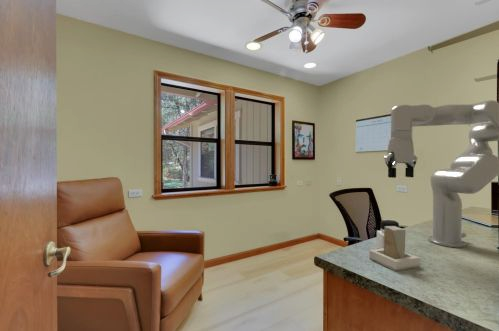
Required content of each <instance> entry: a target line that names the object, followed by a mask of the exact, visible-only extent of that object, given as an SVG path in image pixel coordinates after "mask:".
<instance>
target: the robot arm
mask: <svg viewBox="0 0 499 331" xmlns="http://www.w3.org/2000/svg"><path fill="white" fill-rule="evenodd" d="M474 124H475V125H474ZM449 125H450V126H453V125H456V126H458V125H473V126H472V127H471V128H470V129H469V130H468V131H469V132H468V140H469V147H467V148H466V149H465V150H464V151H463V152H462V153H461V154H459V156H457V157H455V159H454V160H453V161H452V162H451V163H450V168H443V169H438V170H437V169H436V170H435V171H434V172H433V173H431V176H430V185H431V191H432V204H433V206H432V235H430V236H428V238H427V240H428V241H430V243H433V244H436V245H440V246H444V247H449V248H465V247H467V242H465V240H462V238H466V237H467V233H466V232H462V224H463V223H462V221H463V220H462V217H463V216H462V215H463V214H462V212H463V211H462V210H463V202H462V199H461V197H460V195H459V194H465V195H472V194H476V193H479V192H480V191H481V190H482V189H484V188H485V187H486V186H488V185H489V184H490V183H491V182H492V181H493V180H494V179H496V177H497V176H498V175H499V157H498V156H497V155H495V154H493V153H494V152H493V149H492V148H491V146H490V144H489V142H499V102H498V101H497V100H492V99H491V100H485V101H481V102H476V103H470V104H469V103H468V104H443V105H438V106H434V107H433V106H432V105H430V104H417V105H416V104H415V105H409V104H399V105H395V106H393V107H392V108H391V110H390V139H388V145H387V153H386V155H384V157H383V158H384V159H383V160H384V162H385V165H386V167H387V169H388V170H387V177H388V178H393V179H395V178H397V167H396V166H397V164H405V166H406V167H405V170H404V171H405V174H404V175H405V178H414V175H415V174H414V173H415V172H414V171H415V169H414V168H415V167H416V164H417V162H418V161H417V160H418V156H416V155H415V149H414V141H413V127H429V126H430V127H431V126H433V127H435V126H438V127H439V126H449Z"/></svg>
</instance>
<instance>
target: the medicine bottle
mask: <svg viewBox="0 0 499 331" xmlns="http://www.w3.org/2000/svg"><path fill="white" fill-rule="evenodd" d="M385 226H396V227H399V228H400V224H399V222H398V221H396V220H395V219H393V220H392V219H382V220H380V230H378V229H377V230H376V249H382V248H384V229H385Z"/></svg>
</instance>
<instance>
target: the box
mask: <svg viewBox="0 0 499 331" xmlns="http://www.w3.org/2000/svg"><path fill="white" fill-rule="evenodd" d="M405 252H406V229H403V228H401V227H400V226H399V227H396V226H385V229H384V255H386V256H389V257H391V258H393V259H401V258H405Z"/></svg>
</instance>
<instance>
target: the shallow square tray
mask: <svg viewBox="0 0 499 331" xmlns="http://www.w3.org/2000/svg"><path fill="white" fill-rule="evenodd" d="M368 257H369V259H370V260H372V261H374V262H375V263H378V264H380V265H382V266H384V267H387V268H388V269H391V270H393V271H394V272H399V271H404V270H409V269H414V268H419V267H420V264H421V262H420V261H421V260H420V259H421V258H420V257H419V256H416V255H414V254H411V253H409V252H406V251H405V258H401V259H393V258H391V257H389V256H386V255H384V248H382V249H378V248H376V249H370V250H369V256H368Z"/></svg>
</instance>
